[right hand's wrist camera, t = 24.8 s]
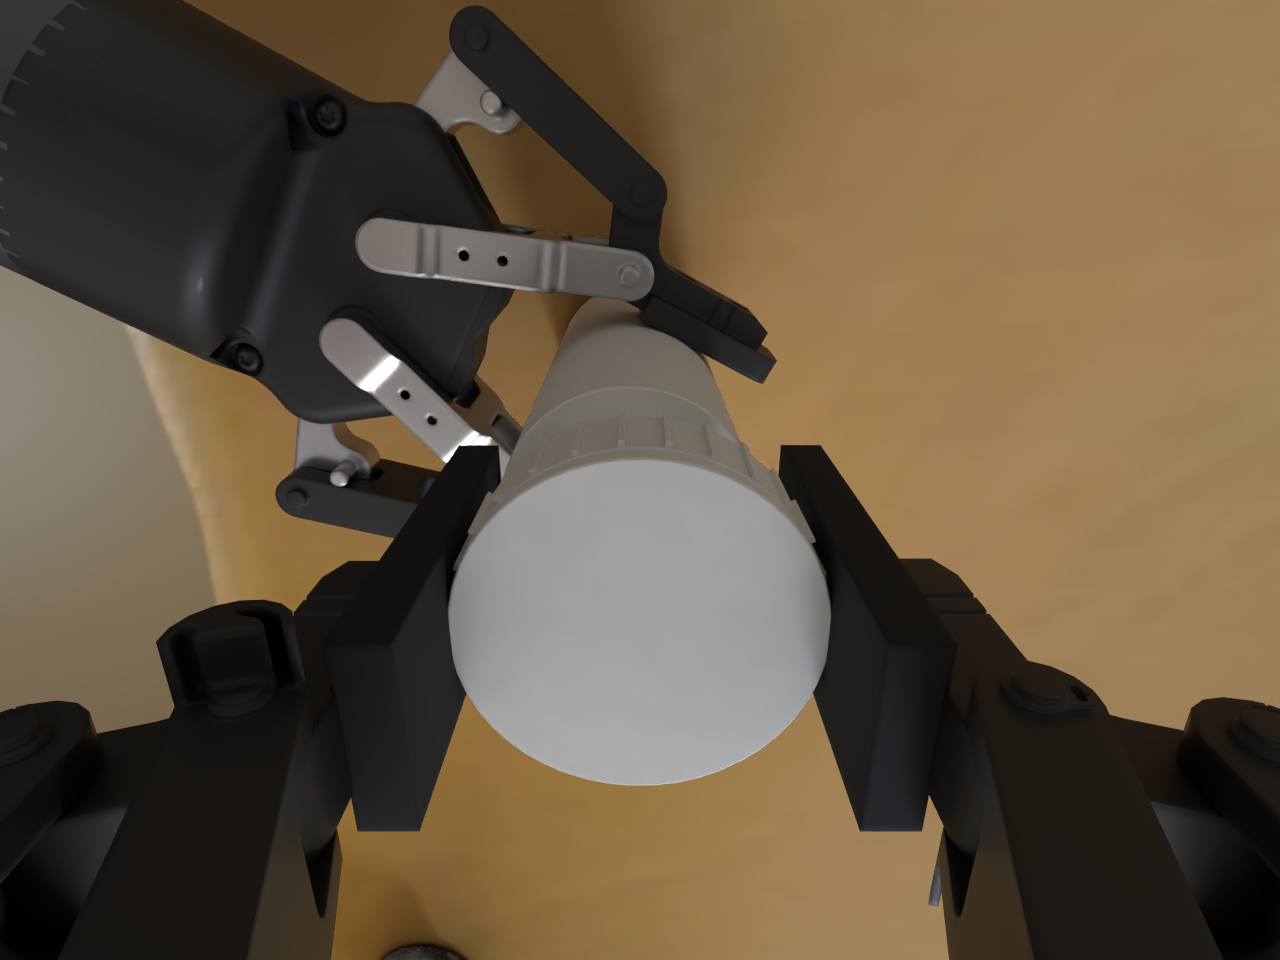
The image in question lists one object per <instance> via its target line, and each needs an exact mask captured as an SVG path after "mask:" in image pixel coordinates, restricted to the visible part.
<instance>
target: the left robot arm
mask: <svg viewBox="0 0 1280 960" xmlns="http://www.w3.org/2000/svg"><path fill="white" fill-rule="evenodd" d="M449 39H450V44H451V47H452V49H451V51H450V52H449V53H448V55H447V56H446V58H445V59H444V61H443V62H442V64H441V65H440V67H439V68H438V69H437V71H436V72H435V74H434V75H433V77H432V78H431V80H430V81H429V83H428V84H427V85H426V87H425V88H424V90H423V91H422V93H421V94H420V96H419V97H418V99H417V100H416V101H415V103H414V104H413V105H411V104H407V103H402V102H388V103H377V102H369V101H366V100H364V99H362V98H360V97H358V96H356V95H354V94H352V93H350V92H348V91H346V90H344V89H343V88H341V87H339V86H337V85H335V84H333V83H332V82H330V81H328V80H326V79H324V78H323V77H321V76H319V75H317V74H315V73H313V72H312V71H310V70H308V69H306V68H304V67H303V66H301V65H299V64H297V63H295V62H293V61H292V60H290V59H288V58H286V57H284V56H283V55H281V54H279V53H277V52H275V51H273V50H272V49H270V48H268V47H266V46H264V45H263V44H261V43H259V42H257V41H255V40H253V39H252V38H250V37H248V36H246V35H244V34H243V33H241V32H239V31H237V30H235V29H233V28H232V27H230V26H228V25H226V24H224V23H222V22H221V21H219V20H217V19H215V18H213V17H212V16H210V15H208V14H206V13H205V12H203V11H201V10H199V9H197V8H196V7H194V6H192V5H190V4H188V3H186V2H184V1H183V0H0V265H1V266H3V267H5V268H8V269H10V270H12V271H14V272H16V273H18V274H21V275H23V276H25V277H27V278H29V279H32V280H33V281H36V282H38V283H40V284H42V285H44V286H46V287H48V288H50V289H53V290H55V291H57V292H59V293H61V294H63V295H65V296H68V297H70V298H72V299H74V300H76V301H78V302H80V303H83V304H85V305H87V306H89V307H91V308H93V309H96V310H98V311H100V312H102V313H104V314H106V315H108V316H111V317H113V318H115V319H117V320H119V321H121V322H123V323H126V324H128V325H130V326H132V327H134V328H136V329H139V330H141V331H143V332H145V333H147V334H149V335H151V336H154V337H156V338H158V339H160V340H162V341H164V342H167V343H169V344H171V345H173V346H175V347H177V348H180V349H182V350H184V351H186V352H188V353H190V354H192V355H195V356H197V357H199V358H201V359H203V360H206V361H208V362H211V363H214V364H216V365H219V366H222V367H225V368H229V369H232V370H235V371H238V372H241V373H243V374H246V375H248V376H251V377H253V378H254V379H256V380H258V381H259V382H260V383H262V384H263V385H264V386H265V387H267V388H268V389H269V390H270V391H271V392H272V393H273V394H274V395H275V396H276V397H277V398H278V400H279V401H280V402H281V403H282V404H283V405H284V407H285V408H286V409H287V410H288V411H290V412H291V413H292V414H294V415H295V416H296V417H298V429H297V442H296V454H295V466H294V470H293V472H292V473H291V474H290V475H288V476H287V477H286V478H285V479H284V480H283V481H281V482H280V483H279V485H278V486H277V488H276V500H277V502H278V504H279V506H280V507H281V508H282V509H283V510H284V511H285V512H286V513H288V514H289V515H292V516H294V517H298V518H303V519H308V520H312V521H317V522H322V523H326V524H331V525H335V526H340V527H345V528H349V529H354V530H358V531H363V532H368V533H372V534H377V535H382V536H386V537H391V538H395V537H396V536H397V534H398V533H399V531H400V530H401V529H402V527H403V526H404V524H405V523H406V521H407V520H408V518H409V517H410V516H411V514H412V513H413V511H414V510H415V508H416V507H417V505H418V504H419V503H420V501H421V500H422V498H423V497H424V495H425V494H426V492H427V491H428V490H429V488H430V487H431V485H432V484H433V482H434V481H435V479H436V478H437V477H438V475H439V474H440V472H439V471H434V470H430V469H425V468H421V467H417V466H412V465H408V464H403V463H399V462H394V461H390V460H386V459H381V458H380V456H379V453H378V451H377V449H376V448H375V447H374V445H373V444H371V443H370V442H368V441H366V440H363V439H361V438H358V437H356V436H355V435H354V434H352V433H351V432H350V430H349V429H348V427H347V426H346V423H345V422H347V421H355V420H362V419H369V418H376V417H383V416H391V415H394V416H395V417H396V418H398V419H399V420H400V421H401V422H402V423H403V424H404V425H405V426H406V427H407V428H408V429H409V430H410V431H412V432H413V433H414V434H415V435H416V436H417V437H418V438H419V439H420V440H421V441H422V442H423V443H424V444H425V445H427V446H428V447H429V448H430V449H431V450H432V451H433V452H434V453H435V454H436V455H437V456H438V457H440V458H441V459H442V460H443V461H445V462H448V461H449V459H450V458H451V456H452V455H453V453H454V452H455V451H456V449H457V448H458V446H459V445H499V456H500V470H501V480H502V478H503V476H504V474H505V471H506V467H507V465H508V462H509V460H510V458H511V455H512V453H513V451H514V448H515V446H516V444H517V441H518V439H519V437H520V435H521V432H522V430H523V427H522V426H521V425H520V424H519V423H518V422H517V421H516V420H515V419H514V418H513V417H512V416H511V415H510V414H509V413H508V412H507V411H506V410H505V408H504V406H503V403H502V401H501V400H500V398H499V397H498V395H497V394H496V393H495V392H494V391H493V390H492V389H491V388H490V387H489V386H488V385H487V384H486V383H485V382H484V381H483V380H482V379H481V378H480V377H479V376H478V375H477V374H476V373H477V371H478V369H479V367H480V365H481V362H482V360H483V358H484V356H485V353H486V346H487V339H488V333H489V327H490V325H491V323H492V322H493V321H494V320H495V319H496V318H497V316H498V315H499V314H500V313H501V312H502V310H503V309H504V308H505V307H506V306H507V305H508V303H509V301H510V298H511V296H512V294H513V292H514V290H515V289H517V290H524V291H532V292H541V293H553V292H562V293H570V294H578V295H585V296H592V297H600V298H607V299H614V300H622V301H625V302H627V303H629V304H631V305H633V306H634V307H636V308H638V309H639V315H640V321H642V322H644V323H646V324H648V325H650V326H652V327H654V328H655V329H657V330H659V331H661V332H663V333H665V334H667V335H669V336H671V337H673V338H676V339H677V340H679V341H680V342H682V343H684V344H686V345H687V346H689V347H691V348H693V349H695V350H697V351H699V352H701V353H703V354H704V355H706V356H708V357H710V358H712V359H714V360H716V361H718V362H720V363H721V364H723V365H725V366H727V367H729V368H731V369H733V370H735V371H737V372H738V373H740V374H742V375H744V376H746V377H748V378H750V379H752V380H754V381H756V382H758V383H762V384H763V383H764V381H765V380H766V378H767V376H768V375H769V373H770V371H771V370H772V368H773V366H774V365H775V363H776V361H777V360H776V359H775V357H774V356H773V355H772V353H771V352H770V351H769V350H768V349H767V348H766V347H764V346H763V345H762V342H763V340H764V338H765V337H766V335H767V331H766V330H765V329H764V328H763V326H762V325H761V324H760V323H759V321H758V320H757V319H756V317H755V316H754V315H753V314H752V313H751V312H750V311H749V309H748V308H746V307H744V306H743V305H741V304H739V303H737V302H735V301H734V300H732V299H730V298H728V297H726V296H724V295H723V294H721V293H719V292H717V291H715V290H714V289H712V288H710V287H708V286H706V285H704V284H703V283H701V282H699V281H697V280H695V279H694V278H692V277H690V276H688V275H686V274H684V273H683V272H681V271H679V270H677V269H675V268H674V267H672V266H670V265H669V264H668V263H667V262H666V261H665V260H664V259H663V258H662V256H661V254H660V251H659V235H660V227H661V220H662V213H663V208H664V206H665V203H666V200H667V188H666V184H665V182H664V180H663V178H662V176H661V175H660V174H659V173H658V172H657V171H656V170H655V169H654V168H653V167H652V166H651V165H650V164H649V163H648V162H647V161H646V160H645V159H644V158H643V157H642V156H640V155H639V154H638V153H637V152H636V151H635V150H634V149H633V148H632V147H631V146H630V145H629V144H628V143H627V142H626V141H625V140H624V139H623V138H622V137H621V136H620V135H619V134H618V133H617V132H616V131H615V130H614V129H613V128H612V127H611V126H609V125H608V124H607V123H606V122H605V121H604V120H603V119H602V118H601V117H600V116H599V115H598V114H597V113H596V112H595V111H594V110H593V109H592V108H591V107H590V106H589V105H588V104H587V103H586V102H585V101H584V100H583V99H582V98H581V97H580V96H578V95H577V94H576V93H575V92H574V91H573V90H572V89H571V88H570V87H569V86H568V85H567V84H566V83H565V82H564V81H563V80H562V79H561V78H560V77H559V76H558V75H557V74H556V73H555V72H554V71H553V70H552V69H551V68H550V67H549V66H547V65H546V64H545V63H544V62H543V61H542V60H541V59H540V58H539V57H538V56H537V55H536V54H535V53H534V52H533V51H532V50H531V49H530V48H529V47H528V46H527V45H526V44H525V43H524V42H523V41H522V40H521V39H520V38H519V37H518V36H516V35H515V34H514V33H513V32H512V31H511V30H510V29H509V28H508V27H507V26H506V25H505V24H504V23H503V22H502V21H501V20H500V19H499V18H498V17H497V16H496V15H495V14H494V13H492V12H491V11H490V10H488V9H487V8H484V7H482V6H468V7H466V8H463V9H462V10H460V11H459V12H458V13H457V14H456V15H455V17H454V18H453V21H452V23H451V26H450V32H449ZM525 122H526V123H527V124H528V125H529V126H530V127H531V128H532V129H533V130H535V131H536V132H537V133H538V134H539V135H540V136H541V137H542V138H543V139H544V140H545V141H546V142H547V143H548V144H550V145H551V146H552V147H553V148H554V149H555V150H556V151H557V152H558V153H559V154H560V155H561V156H562V157H563V158H565V159H566V160H567V161H568V162H569V163H570V164H571V165H572V166H573V167H574V168H575V169H576V170H577V171H578V172H580V173H581V174H582V175H583V176H584V177H585V178H586V179H587V180H588V181H589V182H590V183H591V184H592V185H593V186H595V187H596V188H597V189H598V190H599V191H600V192H601V193H602V194H603V195H604V196H605V197H606V198H607V199H608V200H610V201H611V202H612V203H613V212H612V221H611V230H610V238H609V239H603V238H596V237H589V236H582V235H575V234H570V233H566V232H562V231H556V230H550V229H543V228H535V227H528V226H521V225H514V224H507V223H501V222H500V220H499V218H498V216H497V214H496V212H495V210H494V209H493V207H492V205H491V203H490V201H489V199H488V197H487V195H486V194H485V192H484V190H483V188H482V186H481V184H480V182H479V180H478V179H477V177H476V175H475V173H474V171H473V169H472V167H471V165H470V163H469V162H468V160H467V158H466V156H465V154H464V152H463V150H462V148H461V147H460V145H459V143H458V141H457V139H456V137H455V135H454V134H455V133H456V132H457V131H458V130H459V129H460V128H462V127H464V126H466V125H471V124H474V125H479V126H480V127H482V128H483V129H485V130H486V131H488V132H491V133H494V134H497V135H501V136H508V135H512V134H514V133H516V132H517V131H519V130H520V129H521V128H522V126H523V125H524V124H525ZM432 416H434V417H435V418H436V419H434V418H433V417H432Z"/></svg>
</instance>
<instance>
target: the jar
mask: <svg viewBox="0 0 1280 960" xmlns="http://www.w3.org/2000/svg"><path fill="white" fill-rule="evenodd" d="M624 412H626V413H627V417H644V416H648V417H657V418H662V415H663V413H665V414H670V419H673V420H678V421H682V422H686V423H690V424H694V425H697V426H700V427H702V428H703V426H704V424H705V423H706V424H708V425H711V428H712V431H713V432H715V433H717V434H719V435H721V436H723V437H725V438H727V439H729V440H731V441H732V442H734V443H736V444H737V445H740V444H741V442H740V440H739V437H738V435H737V432H736V430H735V427H734V425H733V423H732V420H731V418H730V415H729V413H728V410H727V408H726V405H725V403H724V401H723V398H722V396H721V393H720V391H719V388H718V386H717V383H716V381H715V379H714V376H713V374H712V371H711V369H710V366H709V364H708V362H707V359H706V357H705V355H704V354H703V353H701V352H699V351H697V350H695V349H693V348H691V347H689V346H687V345H686V344H684V343H682V342H680V341H679V340H677V339H676V338H673V337H671V336H669V335H667V334H665V333H663V332H661V331H659V330H657V329H655V328H654V327H652V326H650V325H648V324H646V323H644V322H642V321H640V315H639V309H638V308H636V307H634V306H633V305H631V304H629V303H627V302H625V301H622V300H614V299H607V298H600V297H592V298H591V299H589V300H588V301H586V302H585V303H584V304H583V305H582V306H581V307H580V308H579V310H578V311H577V312H576V313H575V315H574V316H573V318H572V320H571V321H570V323H569V326H568V328H567V330H566V332H565V335H564V337H563V339H562V341H561V344H560V346H559V348H558V351H557V353H556V355H555V357H554V360H553V362H552V364H551V366H550V369H549V371H548V373H547V376H546V378H545V380H544V382H543V385H542V387H541V389H540V391H539V394H538V396H537V398H536V401H535V403H534V405H533V407H532V410H531V412H530V414H529V416H528V419H527V421H526V423H525V426H524V428H523V430H522V432H521V435H520V437H519V439H518V441H517V444H516V446H515V448H514V451H513V453H512V455H511V458H510V460H509V462H508V465H509V464H510V463H511V462H514V463H515V464H518V463H519V462H520V461H521V460H522V459H523V458H524V457H526V456H527V455H528V454H529V453H531V452H532V451H533V450H534V449H536V448H537V446H538V443H539V441H540V440H541V439H542V438H544V437H546V439H547V440H548V441H549V440H550V439H552V438H554V437H555V436H557V435H560V434H562V433H564V432H567V431H569V430H571V429H574V428H576V426H577V422H579V421H582V420H584V421H585V424H589V423H593V422H596V421H600V420H607V419H613V418H619V413H624ZM508 465H507V467H506V470H507V468H508ZM505 472H506V471H505Z"/></svg>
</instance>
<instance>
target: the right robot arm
mask: <svg viewBox="0 0 1280 960" xmlns="http://www.w3.org/2000/svg"><path fill="white" fill-rule="evenodd" d="M779 478H780V480H781V482H782V484H783V486H784V488H785V491H786V493H787V495H788V497H789V499H790V501H792V500H794V499H795V500H796V502H797V504H798V506H799V508H800V510H801V512H802V514H803V516H804V518H805V520H806V522H807V524H808V526H809V528H810V530H811V532H812V534H813V536H814V538H815V540H816V542H814V543H812V545H813V547H814V549H815V551H816V553H817V555H818V557H819V559H820V561H821V563H822V566H823V568H824V570H825V572H826V582H827V586H828V590H829V595H830V599H831V623H830V632H829V642H828V650H827V657H826V663H825V666H824V669H823V671H822V674H821V676H820V679H819V681H818V684H817V686H816V687H815V689H814V691H813V694H814V697H815V700H816V703H817V706H818V709H819V712H820V715H821V718H822V721H823V724H824V727H825V730H826V732H827V735H828V738H829V741H830V744H831V747H832V750H833V753H834V756H835V759H836V762H837V765H838V768H839V771H840V774H841V777H842V779H843V782H844V785H845V788H846V791H847V794H848V797H849V800H850V803H851V806H852V809H853V812H854V815H855V818H856V821H857V824H858V826H859V829H860V831H922V828H923V823H924V818H925V812H926V807H927V802H928V797H929V796H930V798H931V800H932V802H933V804H934V806H935V808H936V810H937V812H938V815H939V817H940V819H941V821H942V823H943V825H944V827H943V832H942V837H941V842H940V846H939V851H938V856H937V861H936V866H935V871H934V876H933V881H932V885H931V891H930V897H929V903H928V905H933V906H937V907H938V906H939V901H940V896H941V891H942V899H943V908H944V917H945V926H946V935H947V944H948V953H949V960H1280V709H1279V708H1276V707H1273V706H1270V705H1268V706H1266V705H1265V704H1264V703H1259V702H1255V701H1250V700H1241V699H1233V698H1225V697H1221V698H1213V699H1205V700H1202V701H1200V702H1199V703H1198V704H1196V705H1195V706H1193V707H1192V708H1191V711H1190V714H1189V716H1188V719H1187V722H1186V725H1185V728H1184V731H1183V730H1178V729H1173V728H1168V727H1163V726H1158V725H1153V724H1148V723H1143V722H1138V721H1133V720H1128V719H1124V718H1120V717H1116V716H1112V715H1109V712H1108V710H1107V708H1106V706H1105V705H1104V703H1103V702H1102V701H1101V699H1100V698H1099V697H1098V696H1097V694H1096V693H1095V692H1094V690H1092V689H1091V688H1089V687H1088V686H1087V685H1085V684H1084V683H1082V682H1081V681H1079V680H1078V679H1077V678H1075V677H1074V676H1071V675H1069V674H1067V673H1065V672H1062V671H1060V670H1058V669H1055V668H1053V667H1051V666H1047V665H1043V664H1039V663H1035V662H1031V661H1027V659H1026V658H1025V657H1024V656H1023V654H1022V653H1021V652H1020V651H1019V650H1018V648H1017V647H1016V646H1015V645H1014V643H1013V642H1012V641H1011V640H1010V639H1009V637H1008V636H1007V635H1006V634H1005V632H1004V631H1003V630H1002V629H1001V627H1000V626H999V625H998V624H997V623H996V621H995V620H994V619H993V618H992V616H991V615H990V614H986V609H985V608H984V607H983V605H982V604H981V603H980V602H979V600H978V599H977V598H974V597H973V593H972V592H971V591H970V589H969V588H968V587H967V586H966V584H965V583H964V582H963V581H962V580H961V578H960V577H959V576H958V575H957V574H955V573H954V572H952V571H950V570H949V569H947V568H946V567H944V566H942V565H941V564H939V563H937V562H936V561H934V560H933V559H899V558H898V557H897V555H896V554H895V552H894V551H893V549H892V548H891V547H890V545H889V544H888V542H887V541H886V539H885V538H884V536H883V535H882V534H881V532H880V531H879V529H878V528H877V526H876V525H875V523H874V522H873V521H872V519H871V518H870V516H869V515H868V513H867V512H866V510H865V509H864V508H863V506H862V505H861V503H860V502H859V500H858V499H857V497H856V496H855V495H854V493H853V492H852V490H851V489H850V487H849V486H848V484H847V483H846V482H845V480H844V479H843V477H842V476H841V474H840V473H839V471H838V470H837V469H836V467H835V466H834V464H833V463H832V461H831V460H830V458H829V457H828V456H827V454H826V453H825V451H824V450H823V448H822V447H821V445H781V450H780V464H779ZM500 483H501V470H500V456H499V445H459V446H458V448H457V449H456V451H455V452H454V453H453V455H452V456H451V458H450V459H449V461H448V462H447V464H446V465H445V466H444V468H443V469H442V471H441V472H440V474H439V475H438V477H437V478H436V479H435V481H434V482H433V484H432V485H431V487H430V488H429V490H428V491H427V492H426V494H425V495H424V497H423V498H422V500H421V501H420V503H419V504H418V505H417V507H416V508H415V510H414V511H413V513H412V514H411V516H410V517H409V518H408V520H407V521H406V523H405V524H404V526H403V527H402V529H401V530H400V531H399V533H398V534H397V536H396V537H395V539H394V540H393V542H392V543H391V544H390V546H389V547H388V549H387V550H386V552H385V553H384V555H383V556H382V557H381V559H380V560H379V561H348V562H346V563H345V564H343V565H341V566H340V567H338V568H337V569H335V570H333V571H332V572H330V573H329V574H327V575H325V576H324V577H322V578H321V580H320V581H319V582H318V583H317V584H316V586H315V587H314V588H313V589H312V591H311V592H310V593H309V594H308V596H307V600H304V601H303V602H302V603H301V604H300V606H299V607H298V608H297V609H296V610H295V612H294V616H293V613H292V611H291V610H290V609H288V608H287V607H286V606H284V605H283V604H282V603H277V602H272V601H267V600H244V601H236V602H231V603H226V604H222V605H217V606H213V607H210V608H208V609H205V610H203V611H200V612H197V613H195V614H192V615H190V616H188V617H186V618H185V619H183V620H181V621H180V622H178V623H176V624H175V625H173V626H171V627H170V628H168V629H167V631H166V632H165V633H164V634H163V635H162V636H161V637H160V638H159V639H158V640H157V641H156V644H157V647H158V651H159V654H160V657H161V661H162V664H163V668H164V671H165V675H166V678H167V681H168V685H169V688H170V692H171V695H172V699H173V702H174V706H175V707H174V709H173V712H172V714H171V716H170V718H168V719H165V720H161V721H157V722H153V723H148V724H143V725H138V726H133V727H128V728H123V729H118V730H113V731H108V732H103V733H98V734H97V733H96V730H95V727H94V724H93V721H92V718H91V715H90V712H89V711H88V710H87V709H85V708H84V707H82V706H81V705H80V704H78V703H73V702H64V701H51V702H43V703H35V704H28V705H24V706H19V707H16V709H9V710H6V711H3V712H0V960H331V955H332V946H333V937H334V928H335V919H336V910H337V901H338V892H339V883H340V874H341V865H342V854H341V848H340V842H339V837H338V832H337V826H338V824H339V822H340V819H341V817H342V815H343V813H344V811H345V809H346V807H347V805H348V802H349V800H350V798H351V799H352V804H353V809H354V815H355V820H356V825H357V830H358V831H420V828H421V825H422V822H423V819H424V816H425V813H426V810H427V808H428V805H429V802H430V799H431V796H432V793H433V790H434V787H435V784H436V781H437V778H438V775H439V772H440V769H441V766H442V763H443V761H444V758H445V755H446V752H447V749H448V746H449V743H450V740H451V737H452V734H453V731H454V728H455V725H456V722H457V719H458V716H459V714H460V711H461V708H462V705H463V702H464V699H465V696H466V691H465V689H464V687H463V685H462V683H461V681H460V679H459V676H458V674H457V672H456V669H455V665H454V661H453V654H452V646H451V637H450V628H449V618H448V601H449V596H450V590H451V585H452V582H453V579H454V576H455V573H456V571H453V567H454V564H455V562H456V560H457V558H458V556H459V554H460V552H461V549H462V547H463V545H464V543H465V541H466V539H467V537H468V535H469V534H468V531H469V529H470V527H471V525H472V522H473V520H474V518H475V516H476V514H477V512H478V510H479V508H480V506H481V504H482V502H483V500H484V498H485V496H486V495H487V493H488V492H490V493H492V494H493V493H494V491H495V490H496V489H497V487H498V486H499V484H500Z"/></svg>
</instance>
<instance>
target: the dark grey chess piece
mask: <svg viewBox="0 0 1280 960" xmlns="http://www.w3.org/2000/svg"><path fill="white" fill-rule="evenodd" d="M382 960H462V959H461V958H459V957H458V956H456V955H455V954H453V953H450V952H448V951H445V950H443V949H439V948H434V947H428V946H413V947H407V948H402V949H399V950H397V951H394V952H392V953H390V954H389V955H387V956H386V957H385V958H383V959H382Z"/></svg>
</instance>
